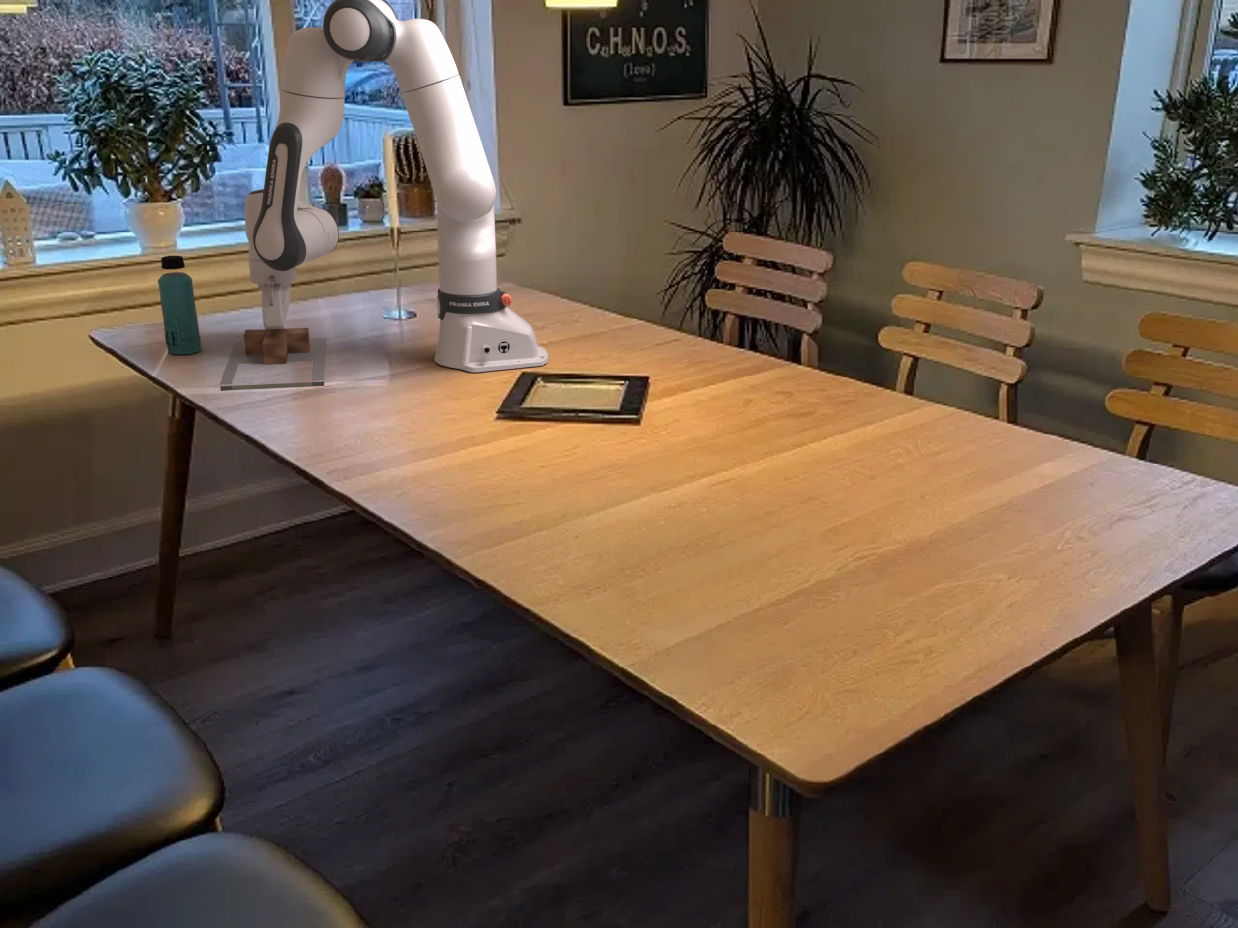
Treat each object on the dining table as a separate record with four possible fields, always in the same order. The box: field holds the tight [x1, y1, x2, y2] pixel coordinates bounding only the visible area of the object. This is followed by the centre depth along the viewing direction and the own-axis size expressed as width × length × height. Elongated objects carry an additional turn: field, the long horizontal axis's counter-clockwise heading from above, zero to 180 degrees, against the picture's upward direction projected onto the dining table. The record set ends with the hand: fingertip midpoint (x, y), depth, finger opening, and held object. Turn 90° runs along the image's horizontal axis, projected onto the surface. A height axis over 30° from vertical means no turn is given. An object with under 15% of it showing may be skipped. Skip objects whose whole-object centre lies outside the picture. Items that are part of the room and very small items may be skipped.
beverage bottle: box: [157, 255, 202, 355], centre depth 215 cm, size 6×7×20 cm
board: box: [219, 338, 327, 392], centre depth 215 cm, size 18×29×1 cm, turn 13°
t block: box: [243, 327, 311, 365], centre depth 216 cm, size 12×11×4 cm
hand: (279, 340), depth 223 cm, fingers closed
